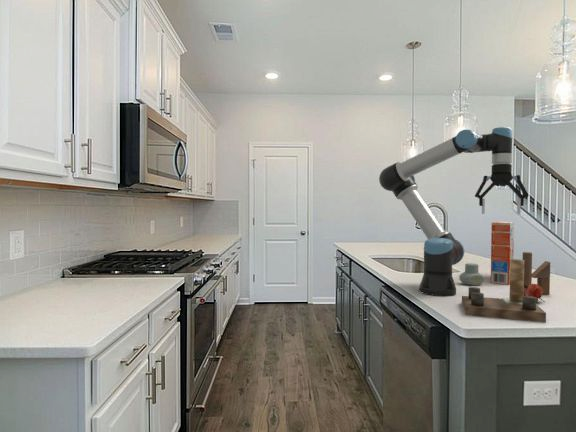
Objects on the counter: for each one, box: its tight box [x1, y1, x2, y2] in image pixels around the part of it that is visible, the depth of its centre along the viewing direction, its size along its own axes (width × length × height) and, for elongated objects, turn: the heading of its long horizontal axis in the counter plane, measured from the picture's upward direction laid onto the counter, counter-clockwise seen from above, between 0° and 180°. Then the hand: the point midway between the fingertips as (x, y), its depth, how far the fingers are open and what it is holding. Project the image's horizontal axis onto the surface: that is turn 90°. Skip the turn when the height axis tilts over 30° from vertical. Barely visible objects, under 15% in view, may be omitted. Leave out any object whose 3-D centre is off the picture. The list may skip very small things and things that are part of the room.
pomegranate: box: [524, 283, 546, 303], centre depth 159 cm, size 7×7×10 cm
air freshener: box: [458, 262, 485, 287], centre depth 194 cm, size 11×8×10 cm
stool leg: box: [509, 258, 524, 302], centre depth 145 cm, size 4×4×15 cm
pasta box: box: [490, 221, 515, 286], centre depth 205 cm, size 23×8×30 cm, turn 147°
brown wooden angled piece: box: [521, 251, 551, 296], centre depth 174 cm, size 4×11×18 cm, turn 87°
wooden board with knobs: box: [461, 286, 547, 323], centre depth 143 cm, size 24×18×7 cm
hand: (500, 214), depth 171 cm, fingers open, 13 cm apart
